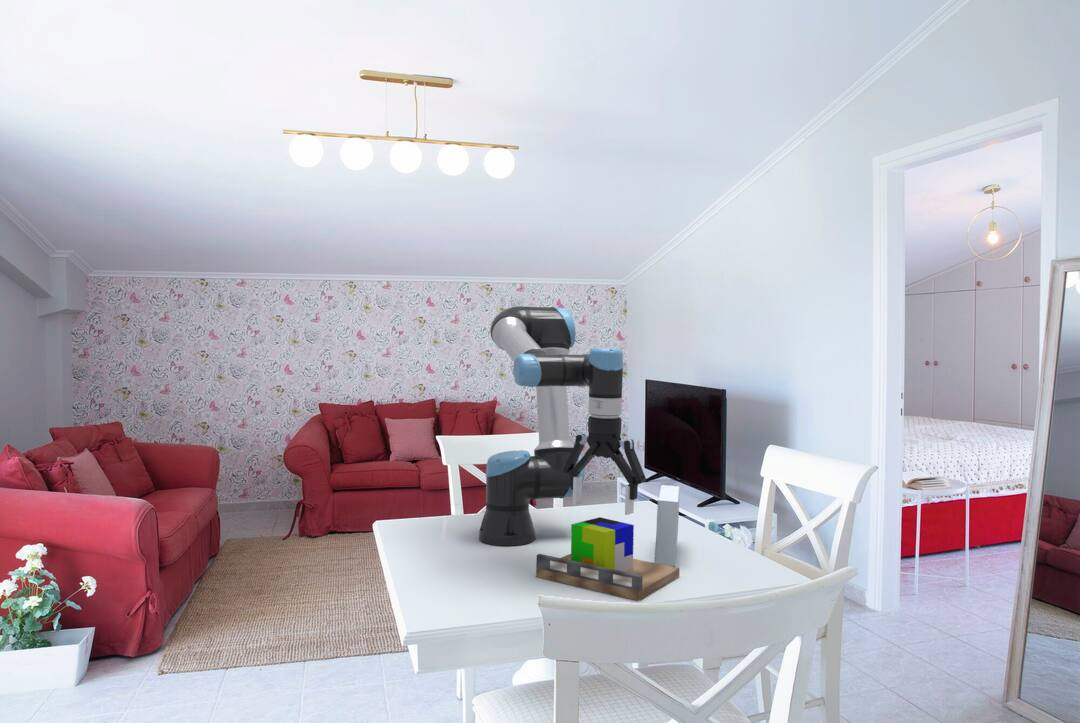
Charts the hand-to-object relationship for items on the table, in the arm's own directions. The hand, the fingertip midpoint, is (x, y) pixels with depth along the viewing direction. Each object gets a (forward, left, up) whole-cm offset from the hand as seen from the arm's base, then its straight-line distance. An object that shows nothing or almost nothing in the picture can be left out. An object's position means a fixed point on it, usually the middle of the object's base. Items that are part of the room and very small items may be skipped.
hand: (602, 509), depth 167 cm
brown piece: (+1, +1, -15) cm, 15 cm away
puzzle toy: (0, 0, -14) cm, 14 cm away
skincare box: (+4, +26, -16) cm, 30 cm away
